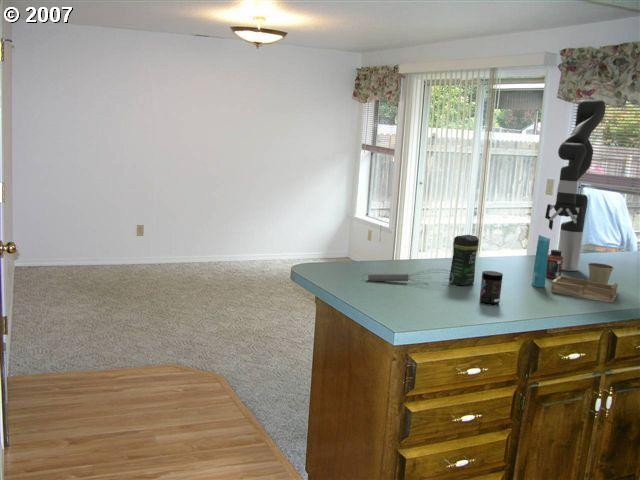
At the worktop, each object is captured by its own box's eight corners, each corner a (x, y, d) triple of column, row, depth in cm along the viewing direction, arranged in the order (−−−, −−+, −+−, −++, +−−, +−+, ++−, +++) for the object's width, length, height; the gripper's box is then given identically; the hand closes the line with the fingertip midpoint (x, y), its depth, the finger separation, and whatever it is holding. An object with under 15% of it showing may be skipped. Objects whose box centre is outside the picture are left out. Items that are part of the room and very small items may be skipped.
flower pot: (609, 286, 262) (613, 264, 260) (611, 291, 253) (615, 269, 252) (584, 282, 265) (587, 261, 263) (585, 287, 256) (588, 266, 255)
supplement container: (487, 299, 228) (490, 270, 226) (503, 304, 223) (507, 274, 221) (474, 301, 224) (478, 271, 222) (491, 306, 219) (495, 276, 217)
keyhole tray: (557, 285, 257) (559, 273, 256) (616, 295, 246) (618, 282, 245) (550, 291, 246) (552, 278, 245) (611, 302, 235) (613, 289, 234)
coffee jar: (463, 287, 244) (468, 237, 241) (445, 282, 249) (450, 234, 246) (477, 284, 251) (482, 235, 247) (459, 279, 256) (464, 232, 253)
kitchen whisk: (361, 278, 248) (362, 262, 247) (451, 284, 248) (453, 268, 247) (362, 282, 242) (364, 265, 241) (454, 288, 242) (456, 272, 241)
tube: (549, 288, 251) (555, 238, 248) (538, 288, 250) (545, 238, 246) (536, 283, 258) (542, 235, 255) (526, 283, 257) (532, 234, 253)
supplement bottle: (561, 279, 268) (565, 252, 266) (546, 278, 269) (549, 250, 267) (559, 276, 274) (562, 249, 272) (544, 275, 275) (547, 248, 273)
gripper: (585, 193, 273) (580, 232, 275) (549, 189, 279) (544, 228, 281) (585, 193, 266) (579, 233, 268) (548, 190, 272) (543, 229, 274)
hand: (561, 230), depth 275 cm, fingers open, 8 cm apart
